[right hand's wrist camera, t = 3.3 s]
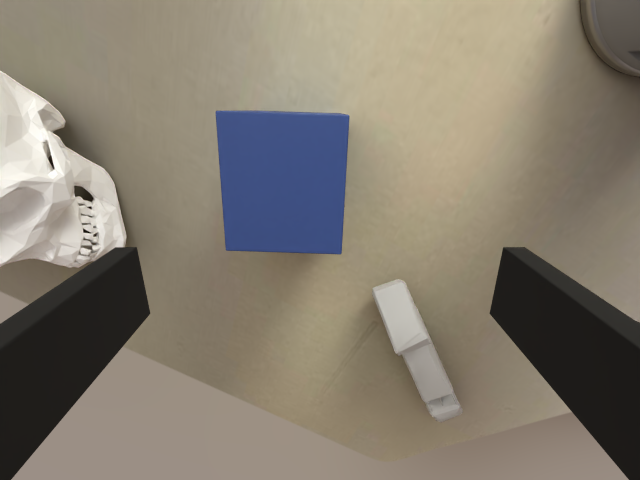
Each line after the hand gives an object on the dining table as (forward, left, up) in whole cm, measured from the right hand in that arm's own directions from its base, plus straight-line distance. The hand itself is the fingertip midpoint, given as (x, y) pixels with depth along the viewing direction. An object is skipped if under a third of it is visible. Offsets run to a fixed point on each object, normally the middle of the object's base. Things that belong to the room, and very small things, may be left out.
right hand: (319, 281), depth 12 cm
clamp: (+23, +1, -22) cm, 32 cm away
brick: (-2, -2, -22) cm, 22 cm away
